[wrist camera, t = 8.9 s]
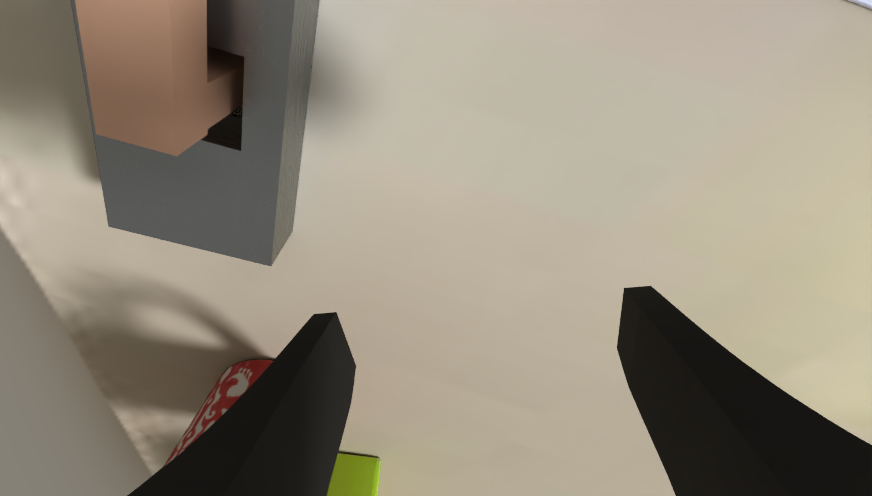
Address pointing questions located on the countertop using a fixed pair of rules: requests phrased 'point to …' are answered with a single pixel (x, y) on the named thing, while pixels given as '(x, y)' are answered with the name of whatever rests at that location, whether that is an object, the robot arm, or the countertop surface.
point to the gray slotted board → (226, 144)
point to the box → (354, 476)
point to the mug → (221, 399)
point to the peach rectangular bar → (156, 72)
